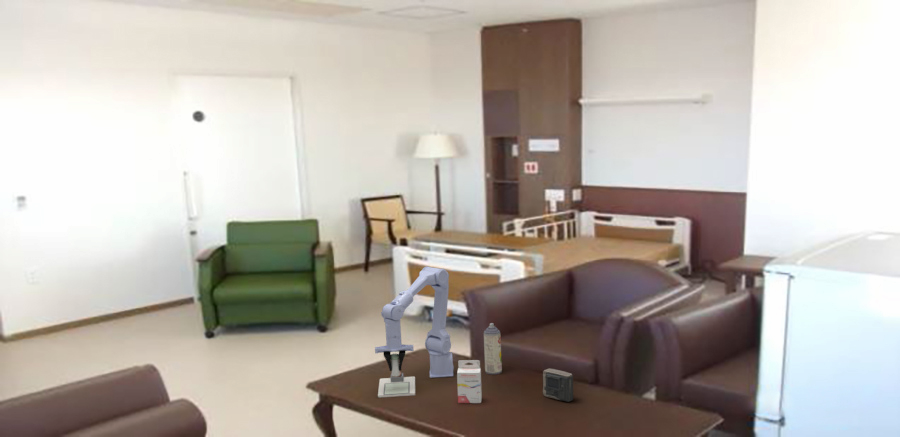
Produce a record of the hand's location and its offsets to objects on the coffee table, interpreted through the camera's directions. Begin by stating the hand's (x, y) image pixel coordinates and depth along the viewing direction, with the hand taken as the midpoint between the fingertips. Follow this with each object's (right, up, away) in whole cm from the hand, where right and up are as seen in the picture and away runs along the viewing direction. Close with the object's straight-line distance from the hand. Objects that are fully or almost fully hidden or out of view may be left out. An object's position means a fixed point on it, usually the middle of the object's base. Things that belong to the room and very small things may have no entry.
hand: (395, 369), depth 272 cm
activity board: (0, -8, +5) cm, 9 cm away
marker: (0, -2, 0) cm, 2 cm away
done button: (0, -5, +11) cm, 12 cm away
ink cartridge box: (+28, -9, -11) cm, 32 cm away
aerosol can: (+39, -5, +18) cm, 43 cm away
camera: (+60, -8, -13) cm, 62 cm away
